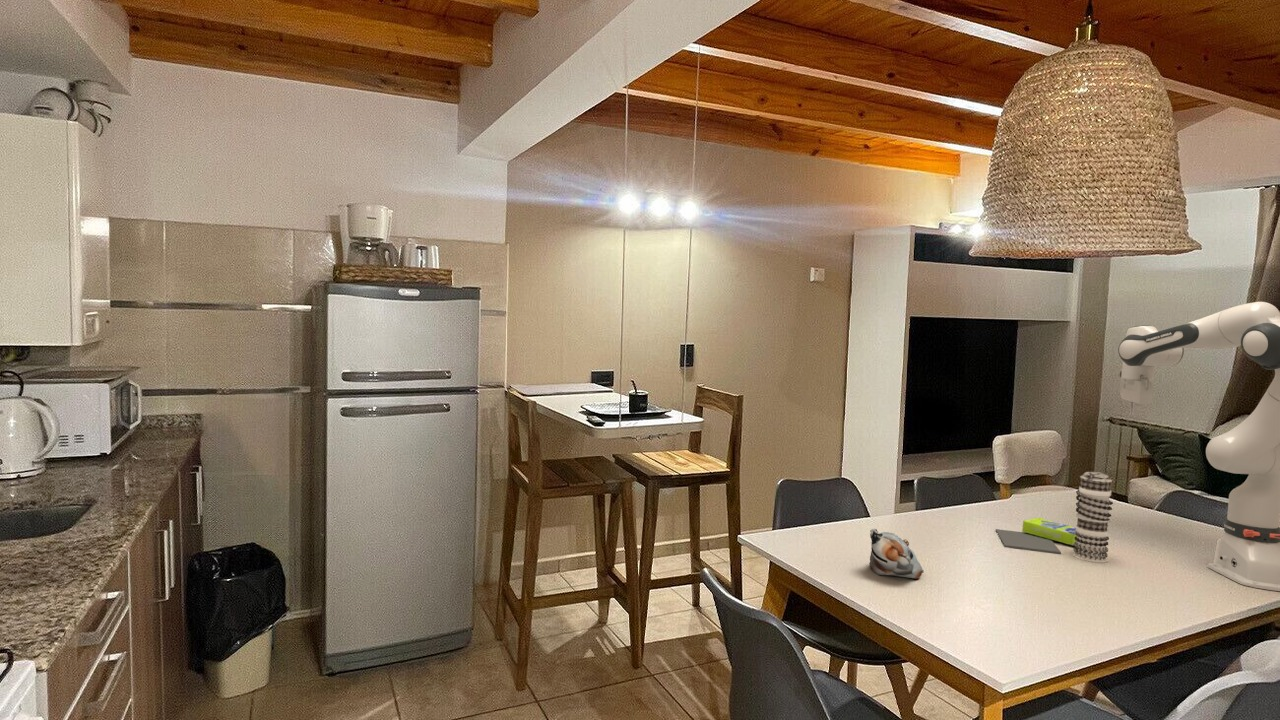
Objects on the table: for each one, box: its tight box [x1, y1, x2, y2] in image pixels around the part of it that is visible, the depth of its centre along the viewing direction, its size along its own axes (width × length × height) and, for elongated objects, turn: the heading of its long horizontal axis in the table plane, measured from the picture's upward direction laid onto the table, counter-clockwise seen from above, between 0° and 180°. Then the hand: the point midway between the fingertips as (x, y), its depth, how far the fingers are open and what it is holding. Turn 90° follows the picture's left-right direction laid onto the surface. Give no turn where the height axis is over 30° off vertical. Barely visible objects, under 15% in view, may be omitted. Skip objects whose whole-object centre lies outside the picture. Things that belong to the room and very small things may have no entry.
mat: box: [995, 528, 1062, 555], centre depth 224 cm, size 19×15×1 cm
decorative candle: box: [1072, 471, 1114, 564], centre depth 209 cm, size 9×9×25 cm
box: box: [1021, 517, 1077, 547], centre depth 228 cm, size 10×4×17 cm
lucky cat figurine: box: [869, 528, 925, 580], centre depth 188 cm, size 15×12×14 cm
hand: (1134, 415), depth 239 cm, fingers closed
